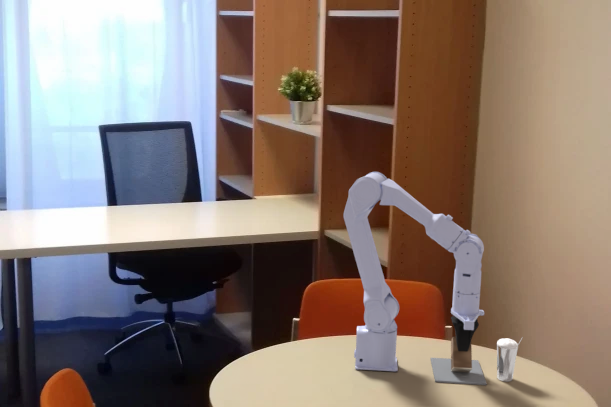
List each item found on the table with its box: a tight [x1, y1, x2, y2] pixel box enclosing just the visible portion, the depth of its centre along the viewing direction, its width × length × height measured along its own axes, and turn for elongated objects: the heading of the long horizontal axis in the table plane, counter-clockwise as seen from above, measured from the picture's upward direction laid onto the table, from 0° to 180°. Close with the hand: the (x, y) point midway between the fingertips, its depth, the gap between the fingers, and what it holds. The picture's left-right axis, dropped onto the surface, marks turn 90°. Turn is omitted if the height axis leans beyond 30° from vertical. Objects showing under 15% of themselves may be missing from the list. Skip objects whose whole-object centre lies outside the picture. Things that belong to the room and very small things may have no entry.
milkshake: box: [496, 336, 523, 383], centre depth 161 cm, size 4×5×10 cm
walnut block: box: [450, 336, 473, 372], centre depth 164 cm, size 4×4×7 cm
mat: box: [430, 357, 488, 386], centre depth 165 cm, size 11×13×1 cm
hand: (462, 350), depth 161 cm, fingers closed
